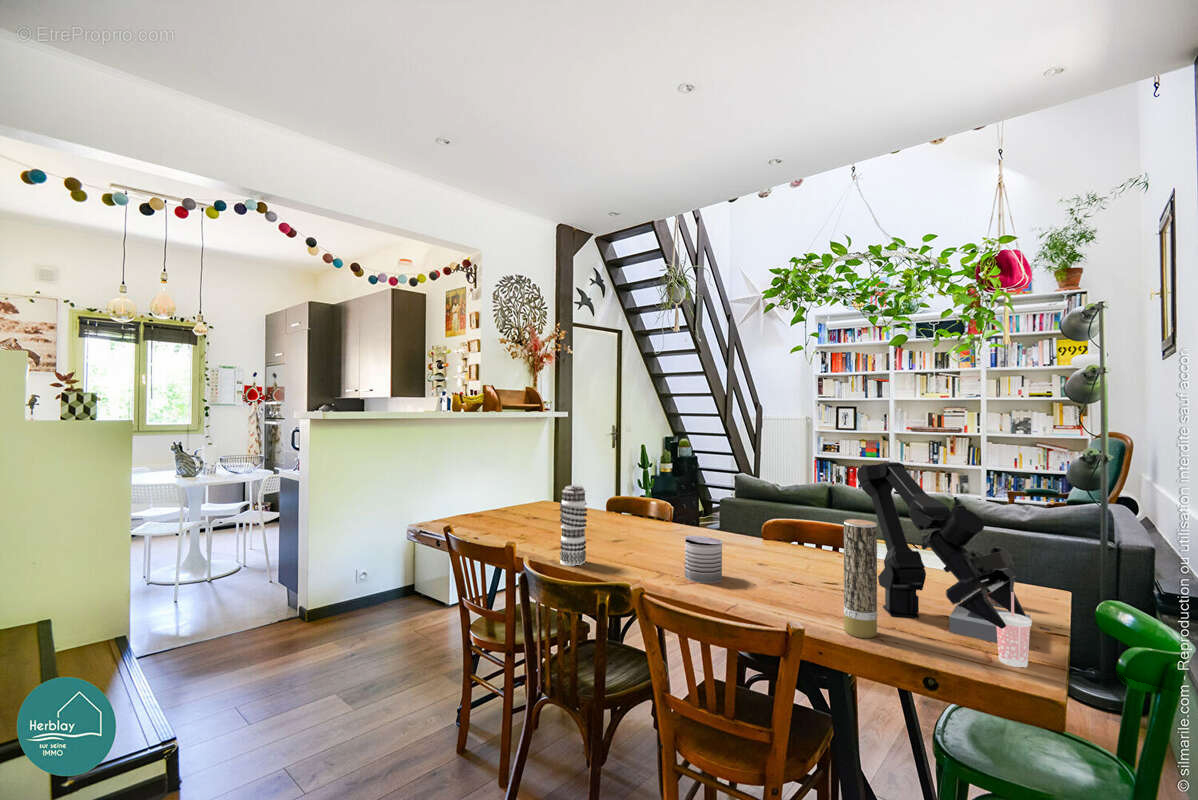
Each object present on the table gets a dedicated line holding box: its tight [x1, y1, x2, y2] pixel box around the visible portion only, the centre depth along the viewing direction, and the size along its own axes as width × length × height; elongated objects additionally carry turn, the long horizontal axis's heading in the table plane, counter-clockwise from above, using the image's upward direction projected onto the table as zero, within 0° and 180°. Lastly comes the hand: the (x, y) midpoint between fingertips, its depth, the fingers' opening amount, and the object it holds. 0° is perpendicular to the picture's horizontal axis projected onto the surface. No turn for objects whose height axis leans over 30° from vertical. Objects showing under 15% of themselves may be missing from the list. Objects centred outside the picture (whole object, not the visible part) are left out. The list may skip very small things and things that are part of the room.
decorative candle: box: [559, 484, 588, 567], centre depth 184 cm, size 9×9×25 cm
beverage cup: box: [996, 591, 1033, 668], centre depth 112 cm, size 6×6×14 cm
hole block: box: [948, 601, 1031, 644], centre depth 128 cm, size 14×14×4 cm
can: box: [683, 535, 724, 584], centre depth 168 cm, size 11×11×12 cm
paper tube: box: [843, 518, 878, 639], centre depth 126 cm, size 7×7×25 cm
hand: (1014, 623), depth 112 cm, fingers open, 9 cm apart
